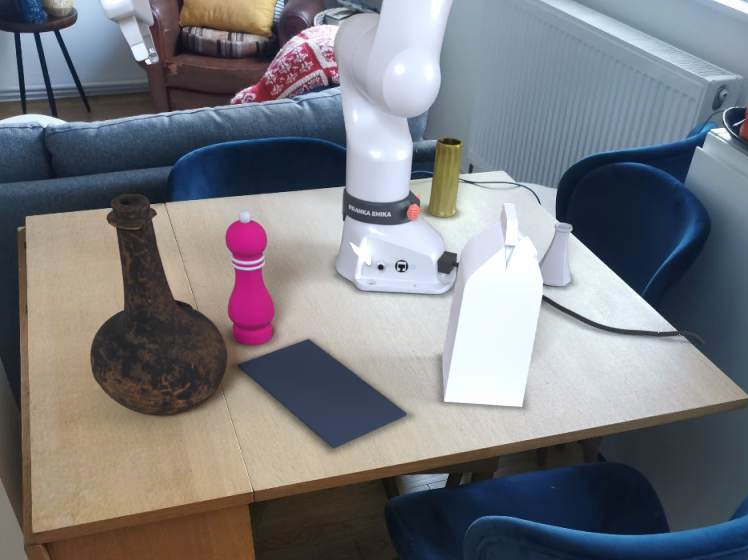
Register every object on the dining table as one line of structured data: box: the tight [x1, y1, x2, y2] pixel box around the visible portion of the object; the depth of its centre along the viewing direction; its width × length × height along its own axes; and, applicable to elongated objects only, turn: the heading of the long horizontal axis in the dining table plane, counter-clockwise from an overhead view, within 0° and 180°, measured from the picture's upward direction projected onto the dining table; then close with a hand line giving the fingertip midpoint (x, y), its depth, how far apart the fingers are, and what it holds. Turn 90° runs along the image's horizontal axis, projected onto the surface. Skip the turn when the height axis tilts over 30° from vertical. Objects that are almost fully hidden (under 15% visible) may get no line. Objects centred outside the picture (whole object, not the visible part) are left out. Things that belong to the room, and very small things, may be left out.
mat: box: [237, 338, 407, 449], centre depth 111 cm, size 24×13×1 cm, turn 39°
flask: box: [538, 222, 574, 287], centre depth 138 cm, size 7×7×10 cm
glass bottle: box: [89, 193, 228, 417], centre depth 98 cm, size 18×18×28 cm
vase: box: [427, 136, 464, 218], centre depth 156 cm, size 6×6×14 cm
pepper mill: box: [225, 209, 276, 346], centre depth 114 cm, size 7×7×20 cm
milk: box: [441, 202, 544, 408], centre depth 106 cm, size 12×12×26 cm
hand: (148, 62), depth 102 cm, fingers open, 8 cm apart
